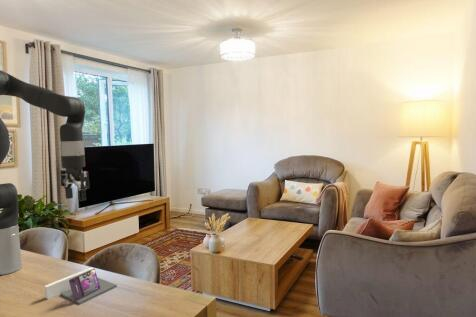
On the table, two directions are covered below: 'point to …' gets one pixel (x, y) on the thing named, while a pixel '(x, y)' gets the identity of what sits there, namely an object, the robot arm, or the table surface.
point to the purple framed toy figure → (83, 284)
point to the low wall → (63, 284)
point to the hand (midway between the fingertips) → (75, 199)
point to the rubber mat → (104, 288)
